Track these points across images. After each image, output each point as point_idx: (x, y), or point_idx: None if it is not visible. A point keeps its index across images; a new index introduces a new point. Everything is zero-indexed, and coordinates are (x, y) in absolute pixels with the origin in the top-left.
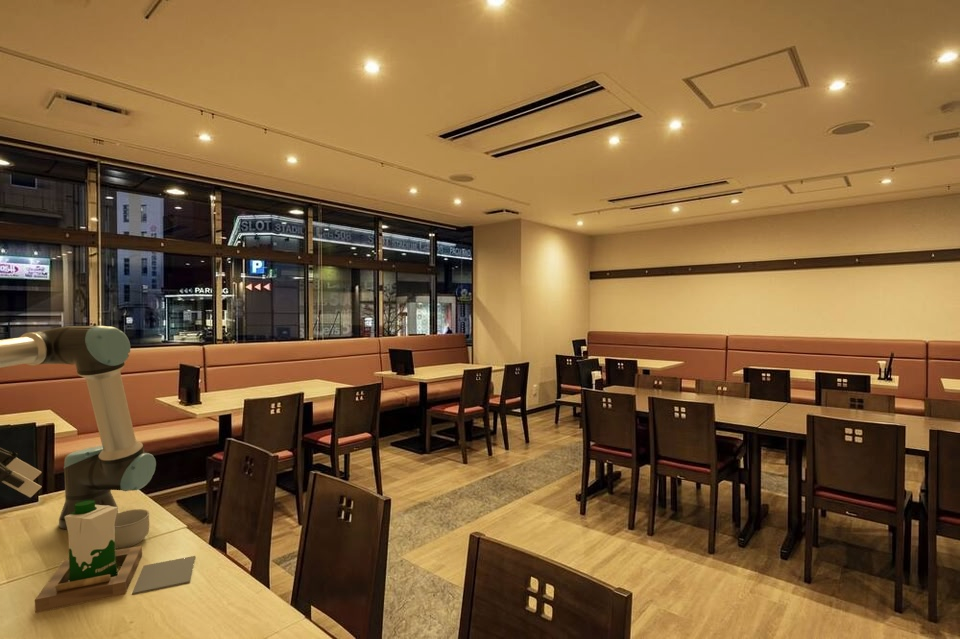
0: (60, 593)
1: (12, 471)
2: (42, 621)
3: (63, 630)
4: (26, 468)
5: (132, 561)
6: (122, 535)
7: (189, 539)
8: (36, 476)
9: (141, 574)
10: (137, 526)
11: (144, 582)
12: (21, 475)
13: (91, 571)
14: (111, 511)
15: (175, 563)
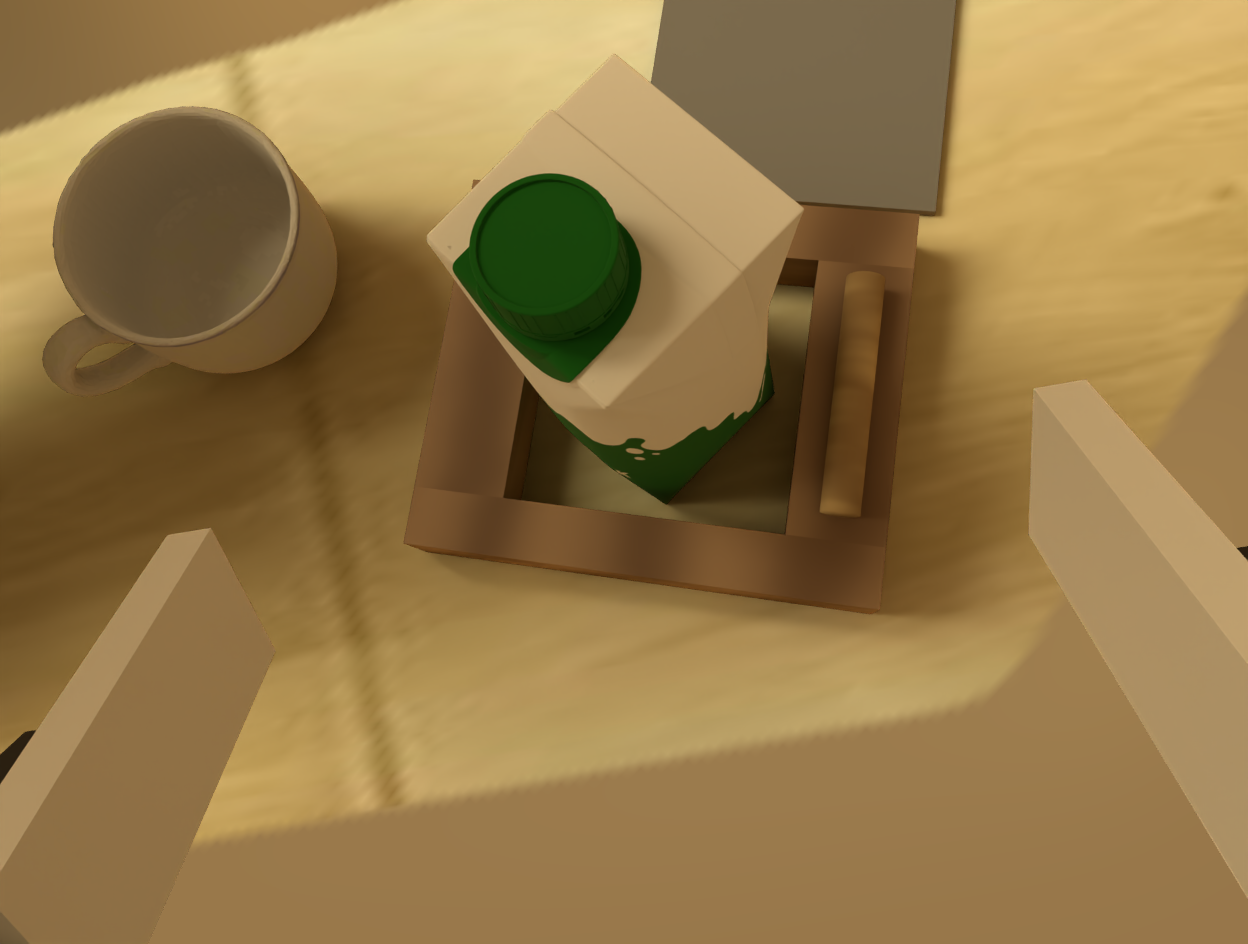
0: (875, 498)
1: (165, 896)
2: (989, 566)
3: None
4: (155, 705)
5: None
6: (318, 267)
7: (418, 9)
8: (240, 591)
9: None
10: (295, 179)
11: (847, 168)
12: (1228, 588)
13: (767, 363)
14: (665, 97)
15: (707, 49)
